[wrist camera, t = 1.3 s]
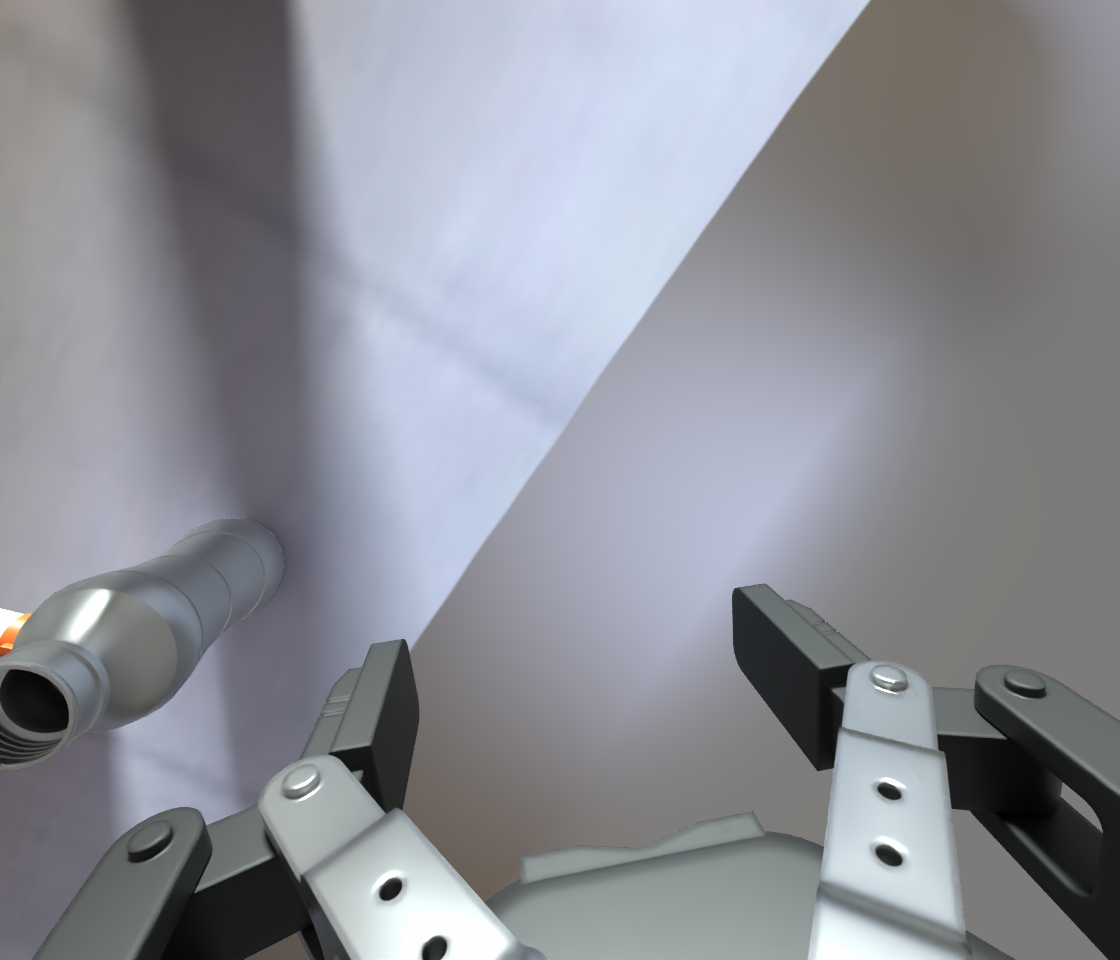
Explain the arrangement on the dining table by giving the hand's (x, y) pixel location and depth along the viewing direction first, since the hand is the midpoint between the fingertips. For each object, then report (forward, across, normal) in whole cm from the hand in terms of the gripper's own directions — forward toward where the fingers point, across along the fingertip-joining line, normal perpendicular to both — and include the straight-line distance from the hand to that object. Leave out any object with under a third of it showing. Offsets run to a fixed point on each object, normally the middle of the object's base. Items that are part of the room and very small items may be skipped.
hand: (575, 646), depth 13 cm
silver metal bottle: (+26, +20, +5) cm, 33 cm away
